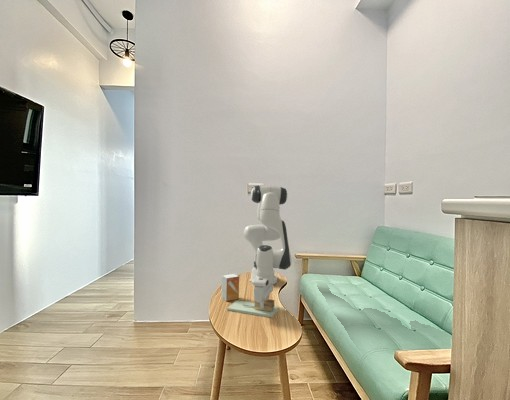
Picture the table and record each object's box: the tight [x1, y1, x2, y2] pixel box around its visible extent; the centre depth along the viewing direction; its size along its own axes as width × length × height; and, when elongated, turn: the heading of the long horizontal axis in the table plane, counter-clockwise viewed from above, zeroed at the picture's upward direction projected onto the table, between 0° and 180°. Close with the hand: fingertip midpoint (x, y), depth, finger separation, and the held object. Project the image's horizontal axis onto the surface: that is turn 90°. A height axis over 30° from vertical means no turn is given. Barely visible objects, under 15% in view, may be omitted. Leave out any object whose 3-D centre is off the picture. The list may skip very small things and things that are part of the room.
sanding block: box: [254, 298, 275, 311], centre depth 149 cm, size 5×9×4 cm, turn 70°
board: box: [227, 299, 280, 318], centre depth 152 cm, size 12×24×1 cm, turn 69°
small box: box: [221, 273, 240, 302], centre depth 167 cm, size 8×6×13 cm
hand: (264, 305), depth 149 cm, fingers closed on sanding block, 5 cm apart
